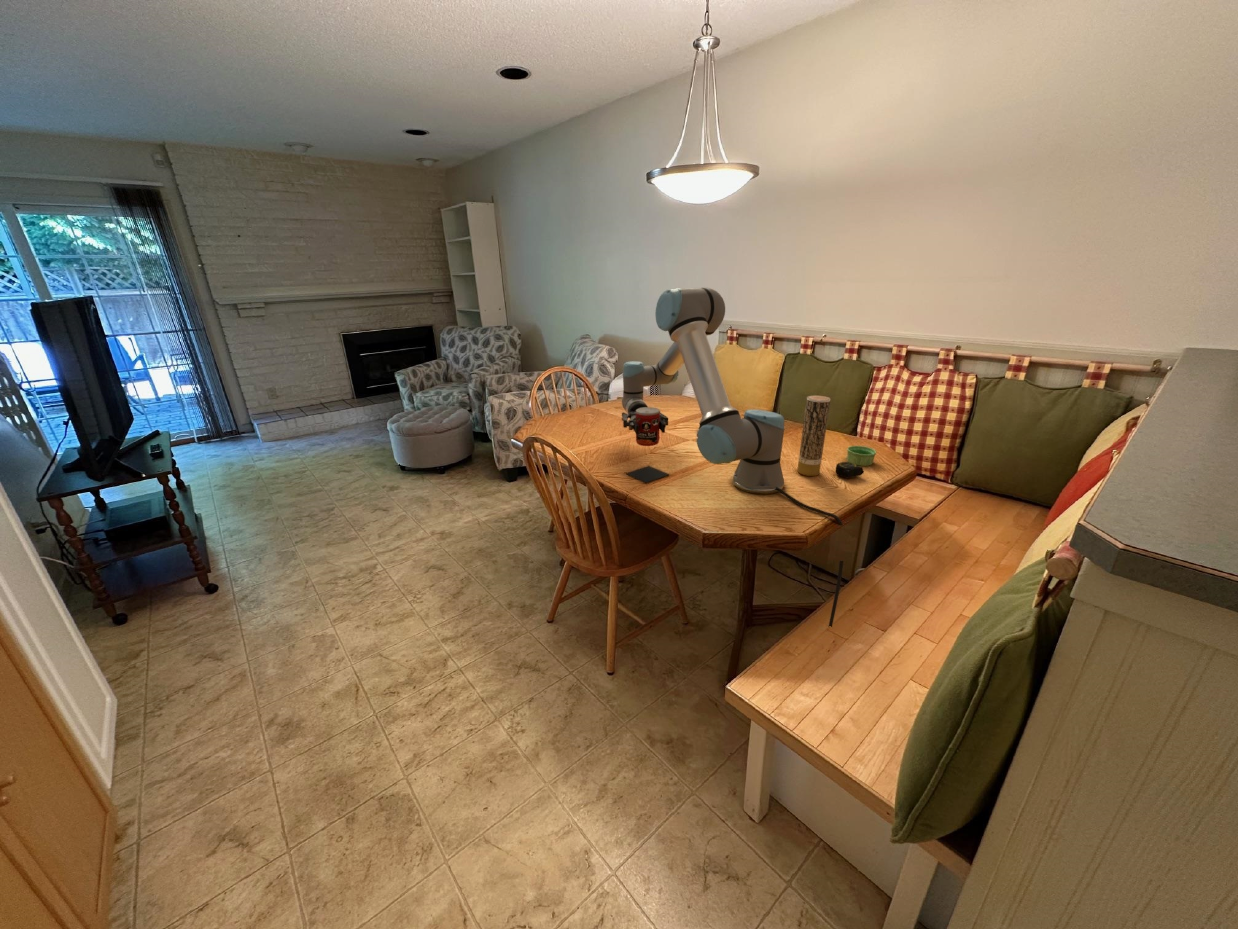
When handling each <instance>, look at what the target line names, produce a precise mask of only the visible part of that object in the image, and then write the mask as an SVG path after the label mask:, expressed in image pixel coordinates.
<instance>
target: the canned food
mask: <svg viewBox="0 0 1238 929" xmlns="http://www.w3.org/2000/svg"><path fill="white" fill-rule="evenodd" d="M660 410H661V409H659V408H658V407H653V406H648V407H643V408H639V409H637V410H636V423H637V424H638V426H639V434H636V433H635V442H636V444H637V445H638V446H642V447H653V446H656V445H658V444H659V442H660V413H661V411H660Z"/></svg>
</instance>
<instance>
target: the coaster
mask: <svg viewBox="0 0 1238 929" xmlns="http://www.w3.org/2000/svg"><path fill="white" fill-rule="evenodd" d="M625 475H627V476H629V477H631V478H633V479H635V480H637V481H639V482H642V483H644V484H650V483H651V482H654V481H657V480H661V479H663V478H666V477H669V476H670V474H669V473H667V472H665V471H662V470H661V469H657V468H655V467H653V466H650V465H647V466H643V467H641V468H638V469H635V470H631V471H629V472H626V473H625Z"/></svg>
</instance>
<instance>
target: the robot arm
mask: <svg viewBox="0 0 1238 929" xmlns="http://www.w3.org/2000/svg"><path fill="white" fill-rule="evenodd" d="M725 315H726V304H725V300H724V298H723V297H722V295H721V294H720V293H719V292H718V291H717V290H716V289H714V288H711V287H691V288H680V287H676V288H670V289H666V290H664V291H663V292H662V293H661V294H660V295H659V298H658V299H657V302H656V306H655V322H656V325H657V327H658V328H659V329H660V330H661V331H662V332H667V333H668V336H669V338H670V340H671V341H672V342H673V343H672V344H671V345H670V347H669V348H668V349H667V350H666V352H665V353H664V354H663V356H662V357H661V358H660V360H659V361H658V362H657V364H652V365H644V362H642V361H637V360H634V361H632V360H631V361H626V362H625V363H624V364H623V366H622V384H623V388H622V389H623V390H622V398H621V405H622V408H623V409H624V411H625V412H621V421H622V425H623V426H622V427H623V428H624V429H626V428H628V431H633V432H634V433H635V435H636V434H639V426H638V424H637V423H636V410H637V409H639V408H643V407H649V406H648V405H647V403H646V402H645V401H644V388H646V387H652V386H660V385H668V384H673V383H675V382H676V381H677V380H678V377H679V370H680V369H681V367H683V365H684V366H685V369H686V373H687V375H688V378H689V381H690V384H691V387H692V390H693V394H694V396H695V398H696V402H697V405H698V408H699V410H700V415H701V418H700V421H699V423H698V424H699V426H700V429H699V428H698V430H697V433H696V445H697V448H698V451H699V452H700V454H701V456H702V457H703V458H704V460H706V461H708V462H709V463H711V464H712V465H723V464H730V463H733V462H736V461H739V462H738V464H737V466H736V468H735V471H734V473H733V475H732V484H733V486H734V487H736V489H739V490H740V491H744V492H746V493H750V494H756V495H773V494H777V493H779V494H782V495H783V496H785V497H786V498H787V499H789V500H791V501H792V502H793V503H795V504H796V505H798V506H800V507H802V508H804V509H807V510H810V511H812V512H816V513H818V514H821V515H824V516H827V517H830V518H832V519H834V520H835V521H836V522H837V524H838V525H840V526H843V525H844V524H843V522H842V519H840V517H838V515H836V514H834V513H832V512H827V511H825V510H822V509H819V508H816V507H813V506H810V505H808V504H805V503H803V502H801V501H799V500H798V499H796V498H794V497H793V496H791V495H790V494H789V493H787V492H786V491H784V486H785V478H784V474H783V469H782V464H781V459H782V451H783V450H782V449H783V443H784V442H783V441H784V434H785V418H784V417H783V415H782V414H780V413H777V412H775V411H774V412H773V411H769V410H764V409H763V410H762V409H746V410H745V411H744V413H743V417H741V414H740V411H739V409H737V408H736V407H734V406H732V404H731V403H730V402H731V401H730V399H729V397H728V394H727V390H726V388H725V386H724V382H723V379H722V376H721V374H720V371H719V367H718V366H717V362H716V359H715V357H714V354H713V351H712V348H711V345H710V342H709V339H708V336H711V335H713V334H714V333H716V331H717V330H718V329H719V328H720V326H721V324H722V323H723V321H724V318H725ZM628 419H629V420H628ZM667 426H669V417H668V416H666V415H665V414H663V413H662V412H660V429H659V431H660V432H661V433H662V434H664V433H666V427H667ZM843 568H844V560H839V563H838V572H837V580H836V587H835V591H834V598H833V602H832V608H831V612H830V616H829V617H830V618H829V621H828V627H829V626H831V627H832V628H833V624H834V620H835V614H836V611H837V610H836V609H837V606H838V600H839V594H840V590H841V582H842V576H843V570H844V569H843Z"/></svg>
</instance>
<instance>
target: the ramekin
mask: <svg viewBox="0 0 1238 929" xmlns="http://www.w3.org/2000/svg"><path fill="white" fill-rule="evenodd" d="M846 452H847V453H846V454H847V455H846V460H847V461H846V462H850V463H854V464H856V465H857V466H859V467H866V466H871V465H872V464H873V463H874V460H875V456H876V455H877V451H876V449H874V448H871V447H868V446H863V445H852V446H848V447H847V448H846Z"/></svg>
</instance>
